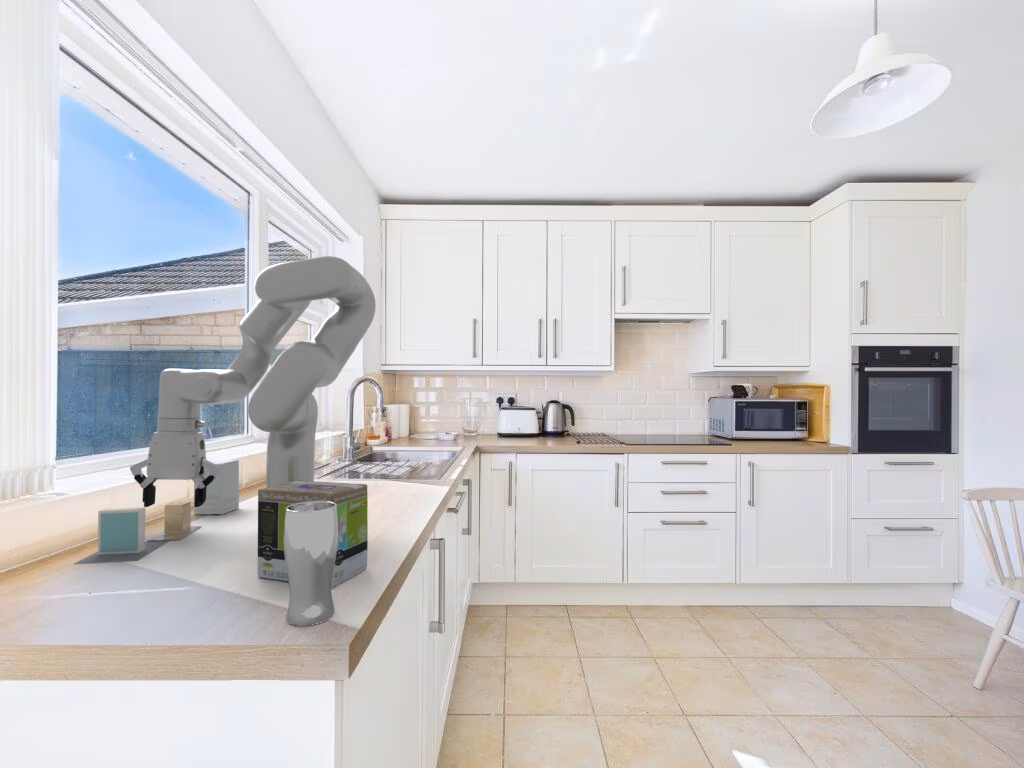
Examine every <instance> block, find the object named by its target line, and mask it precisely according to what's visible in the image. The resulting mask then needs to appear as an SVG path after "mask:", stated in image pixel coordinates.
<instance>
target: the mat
mask: <svg viewBox="0 0 1024 768" xmlns="http://www.w3.org/2000/svg"><path fill="white" fill-rule="evenodd" d="M169 542H170V541H155V542H147V541H145V550H144V551H142V552H140V553H121V554H101V555H98V551H96V552H94V553H92V554H90V555H88V556H86V557H84V558H82V559H80V560H78V561H76V562H73V565H84V564H85V565H86V564H101V563H102V564H103V563H104V564H105V563H122V562H123V563H125V562H137V561H140V560H141V559H143V558H144V557H146V556H148V555H149V554H151V553H153V552H154V551H156V550H157V549H158V550H159V548H161V547H163V546H164V545H166V544H167V543H169Z"/></svg>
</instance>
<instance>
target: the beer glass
mask: <svg viewBox="0 0 1024 768" xmlns="http://www.w3.org/2000/svg"><path fill="white" fill-rule="evenodd" d="M285 510H286V511H285V521H284V536H283V546H284V557H285V563H286V569H287V574H288V580H289V581H288V585H289V601H288V607H287V612H286V618H285V619H286V622H287V623H288V624H289V623H290V624H289V625H291V624H293V625H292V626H294V625H305V626H304V627H307V626H306V625H311V626H313V625H312V624H316V623H320V622H322V623H324V622H323V621H325V620H327V619H329V618H330V619H331V618H332V617H333V616H334V614H335V606H334V602H333V596H332V588H331V584H332V576H333V571H334V565H335V560H336V554H337V547H338V516H337V504H336V503H334V502H331V501H307V502H300V503H295V504H291V505H289V506H287V507H286V508H285ZM330 619H329V620H330ZM327 621H328V620H327ZM325 622H326V621H325ZM320 624H321V623H320ZM316 625H317V624H316Z"/></svg>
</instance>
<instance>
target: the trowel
mask: <svg viewBox="0 0 1024 768" xmlns="http://www.w3.org/2000/svg"><path fill="white" fill-rule="evenodd" d="M191 516H192V501H190V500H189V501H187V500H183V501H182V500H181V501H172V502H170V503H167V504H165V505H164V530H163V531H161V532H159V533H158V534H156V535H154V536H152V537H151V538H148V539H147V540H146V542H155V541H169V542H179V541H181V540H183V539H185V538H186V537H188V536H190V535H191V534H193V533H194V532H196V531H197V530H198V531H199V529H201V528H202V525H195V526H193V525H192V523H191V522H192V517H191Z"/></svg>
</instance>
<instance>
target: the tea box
mask: <svg viewBox="0 0 1024 768" xmlns="http://www.w3.org/2000/svg"><path fill="white" fill-rule="evenodd" d="M257 491H258V492H257V577H258V578H262V577H263V578H264V579H269V580H278V581H283V582H289V580H288V574H287V569H286V563H285V557H284V546H283V536H284V521H285V511H286V510H285V508H286V507H287V506H289V505H291V504H295V503H300V502H307V501H331V502H334V503H336V504H337V516H338V547H337V554H336V560H335V565H334V571H333V576H332V584H331V589H332V588H333V587H335V586H337V585H340V584H342V583H344V582H346V581H348V580H350V579H352V578H353V577H355V576H357V575H358V574H361V573H362V572H363V571H366V570H367V567H368V544H369V543H368V536H369V534H368V529H369V528H368V522H369V521H368V520H369V519H368V511H369V510H368V505H369V504H368V503H369V502H368V484H367V483H366V484H364V483H351V482H350V483H348V482H347V483H346V482H331V481H315V480H314V481H295V482H291V483H286V484H282V485H277V486H272V487H268V488H266V487H264V488H260V489H257Z"/></svg>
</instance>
